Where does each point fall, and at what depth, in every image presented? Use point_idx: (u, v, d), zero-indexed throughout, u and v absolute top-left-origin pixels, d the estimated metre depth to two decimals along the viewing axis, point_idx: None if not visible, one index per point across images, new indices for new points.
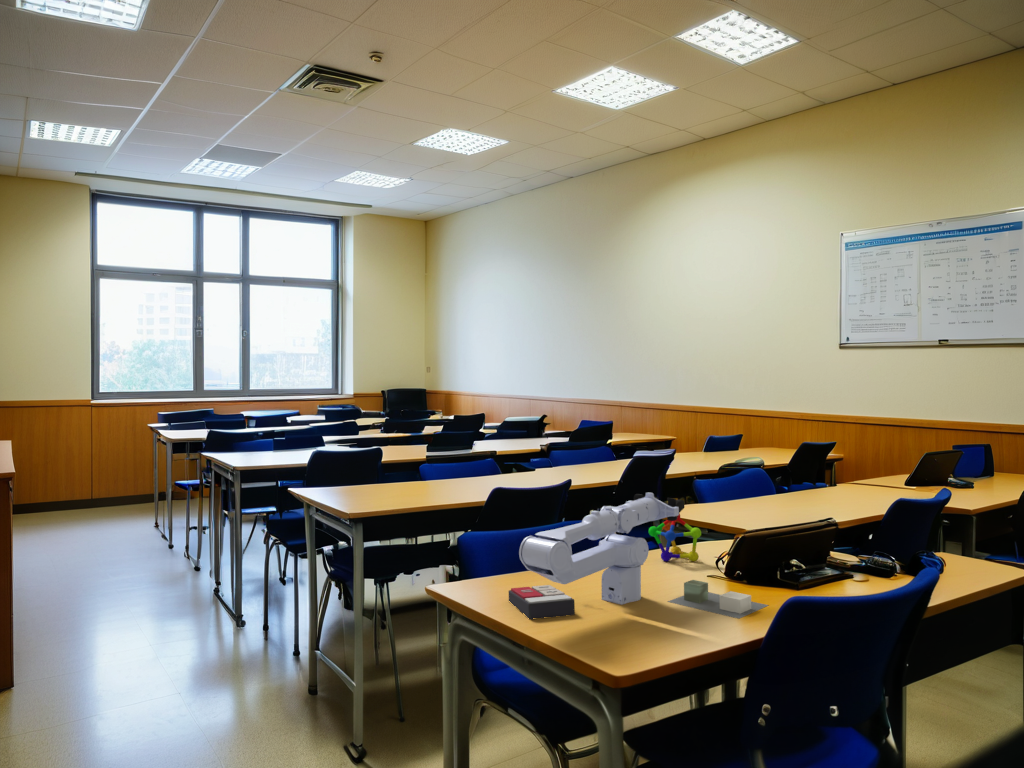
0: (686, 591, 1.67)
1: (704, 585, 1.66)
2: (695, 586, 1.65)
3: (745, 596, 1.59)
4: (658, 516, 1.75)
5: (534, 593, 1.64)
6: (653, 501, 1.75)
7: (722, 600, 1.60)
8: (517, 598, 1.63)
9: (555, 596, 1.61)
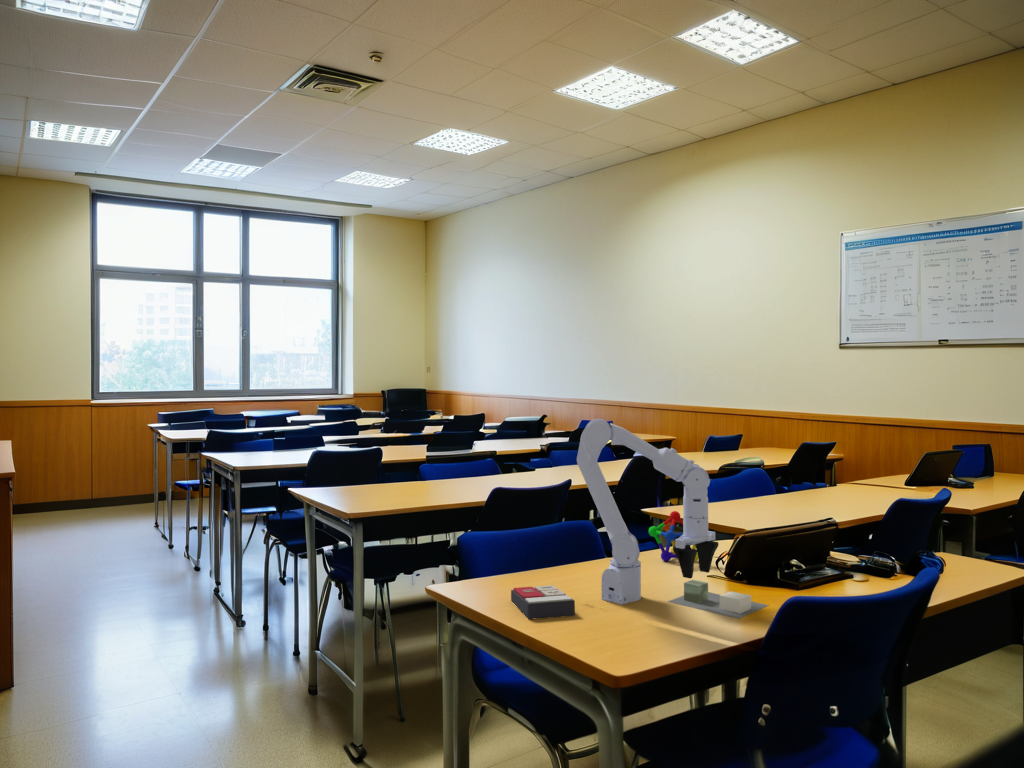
0: (686, 591, 1.67)
1: (704, 585, 1.66)
2: (695, 586, 1.65)
3: (745, 596, 1.59)
4: (684, 536, 1.67)
5: (535, 593, 1.64)
6: (700, 534, 1.65)
7: (722, 600, 1.60)
8: (518, 598, 1.63)
9: (556, 596, 1.61)
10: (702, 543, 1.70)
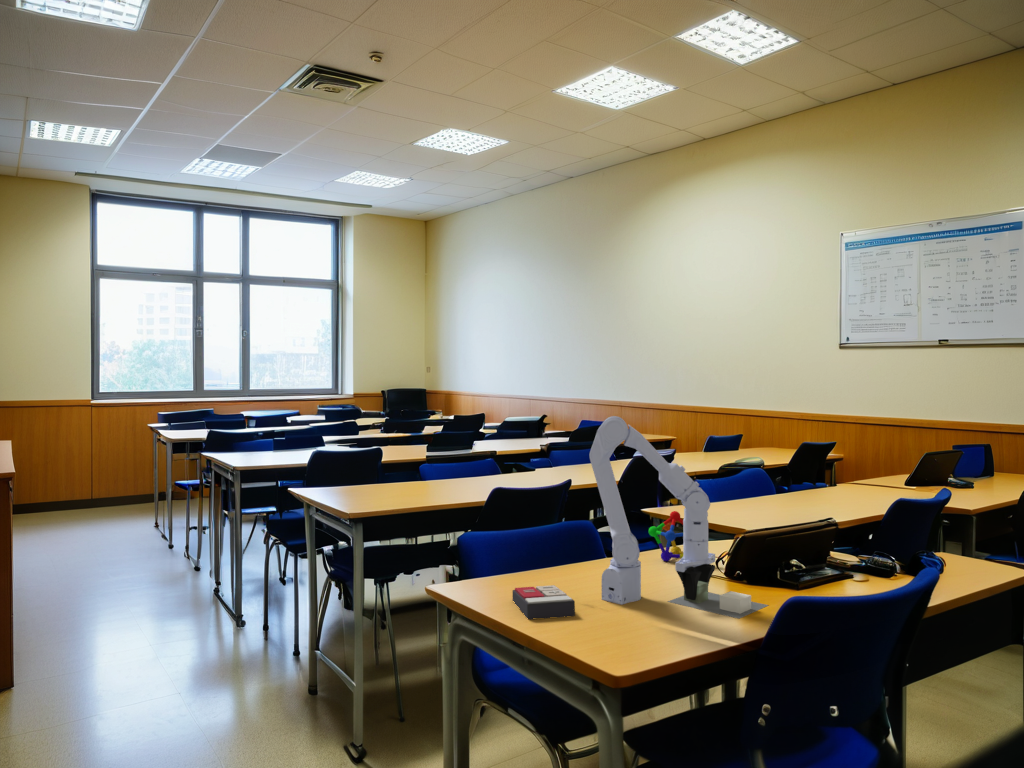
0: None
1: (704, 585, 1.66)
2: None
3: (745, 596, 1.59)
4: (684, 558, 1.67)
5: (536, 593, 1.63)
6: (700, 557, 1.65)
7: (722, 600, 1.60)
8: (519, 598, 1.64)
9: (556, 597, 1.61)
10: (699, 566, 1.69)
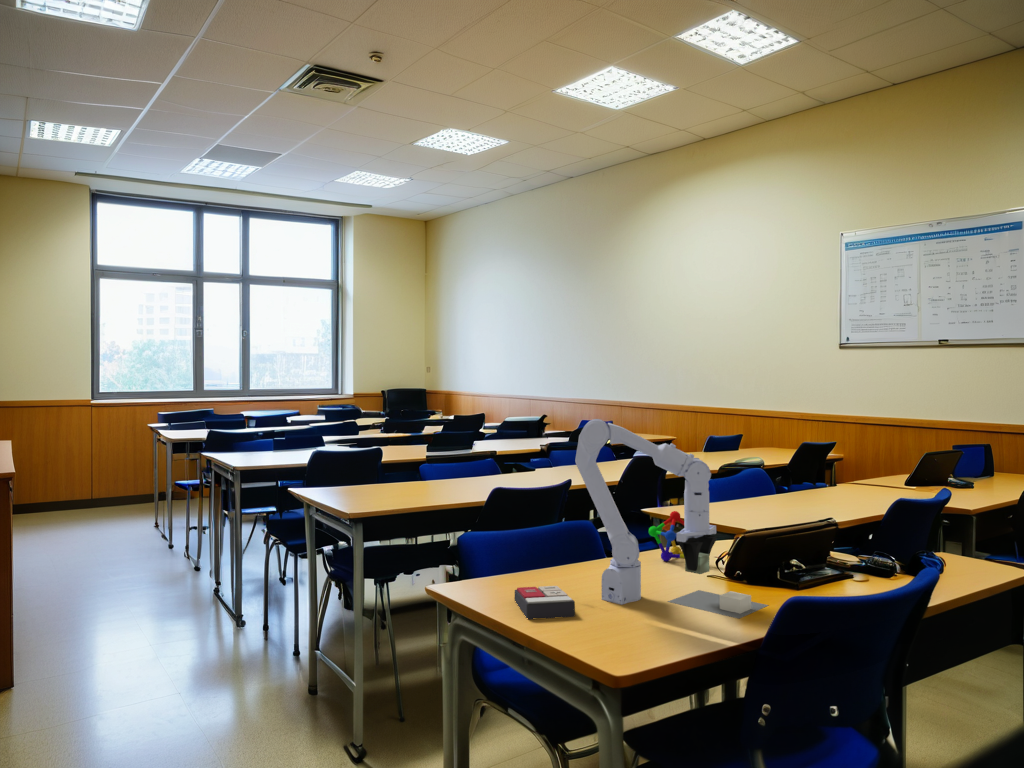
0: None
1: (705, 556, 1.66)
2: None
3: (745, 596, 1.59)
4: (685, 529, 1.67)
5: (537, 593, 1.63)
6: (701, 528, 1.64)
7: (722, 600, 1.60)
8: (520, 597, 1.64)
9: (556, 597, 1.60)
10: (700, 538, 1.69)
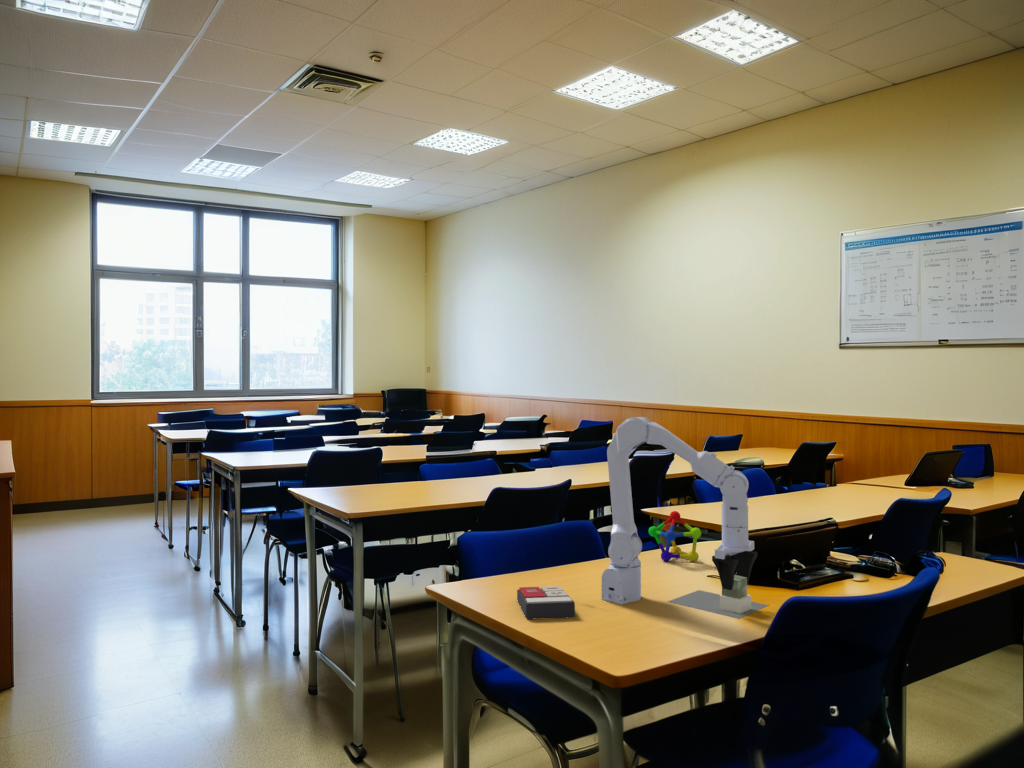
0: None
1: (743, 580, 1.59)
2: (734, 581, 1.58)
3: (745, 596, 1.59)
4: (722, 546, 1.60)
5: (538, 593, 1.63)
6: (740, 544, 1.58)
7: (722, 600, 1.60)
8: (521, 597, 1.64)
9: (557, 598, 1.60)
10: (740, 553, 1.63)
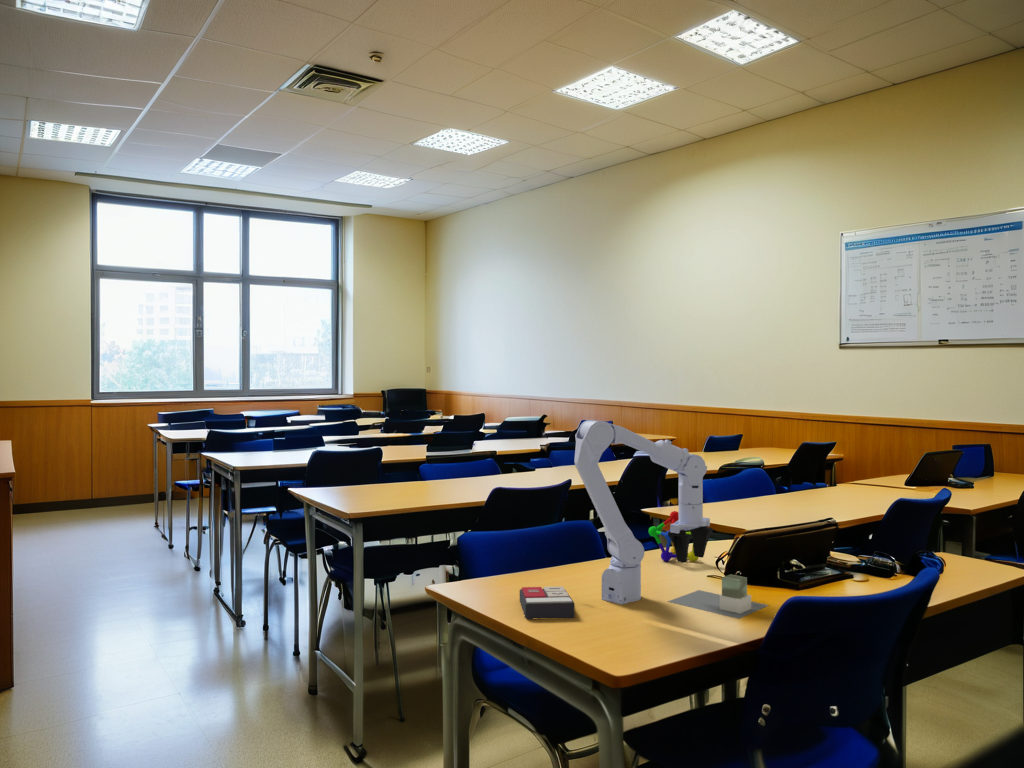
0: (724, 586, 1.60)
1: (743, 580, 1.59)
2: (734, 581, 1.58)
3: (745, 596, 1.59)
4: (679, 521, 1.72)
5: (538, 593, 1.63)
6: (694, 520, 1.70)
7: (722, 600, 1.60)
8: (522, 597, 1.64)
9: (557, 598, 1.60)
10: (697, 529, 1.75)
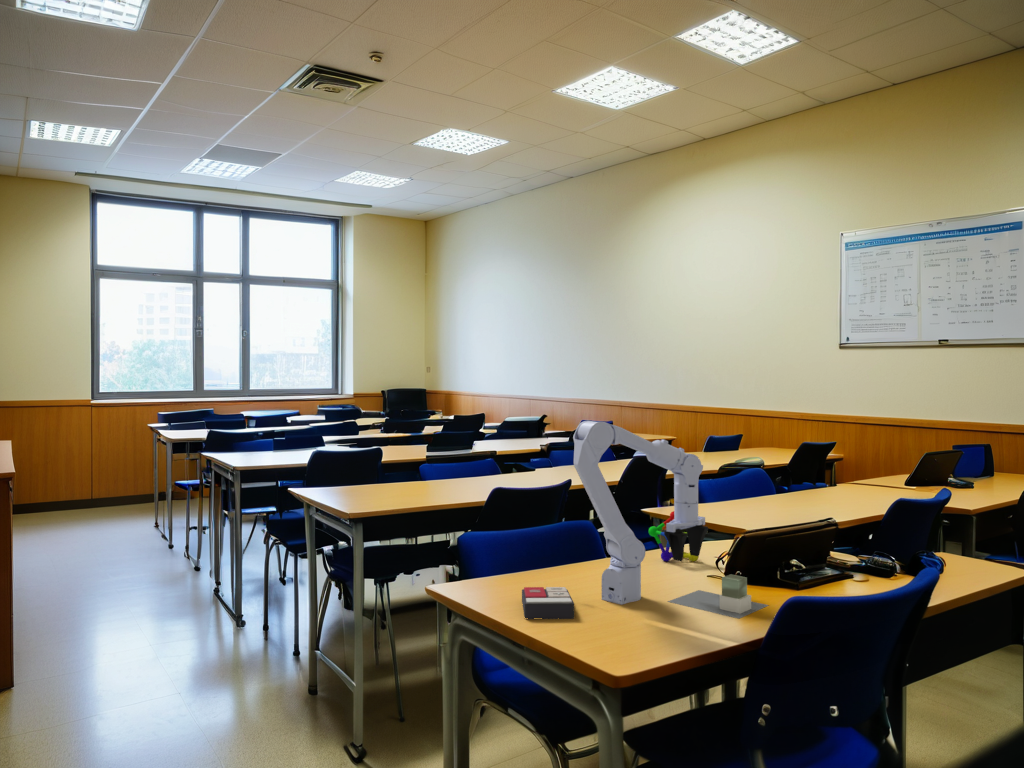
0: (724, 586, 1.60)
1: (743, 580, 1.59)
2: (734, 581, 1.58)
3: (745, 596, 1.59)
4: (674, 520, 1.73)
5: (539, 594, 1.63)
6: (690, 519, 1.71)
7: (722, 600, 1.60)
8: (523, 597, 1.64)
9: (557, 598, 1.59)
10: (692, 528, 1.77)
